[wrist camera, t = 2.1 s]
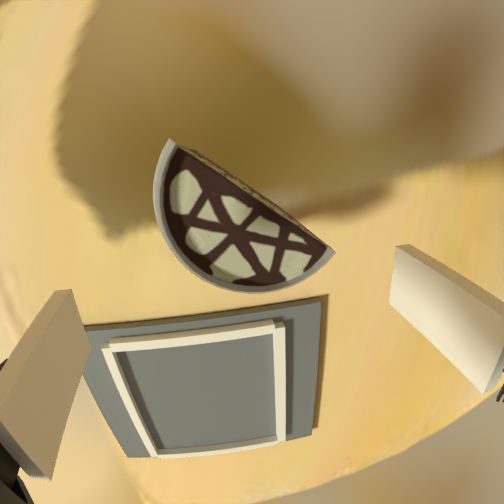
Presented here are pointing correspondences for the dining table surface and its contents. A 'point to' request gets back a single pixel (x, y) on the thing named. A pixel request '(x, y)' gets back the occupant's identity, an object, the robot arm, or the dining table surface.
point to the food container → (230, 227)
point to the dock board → (207, 379)
